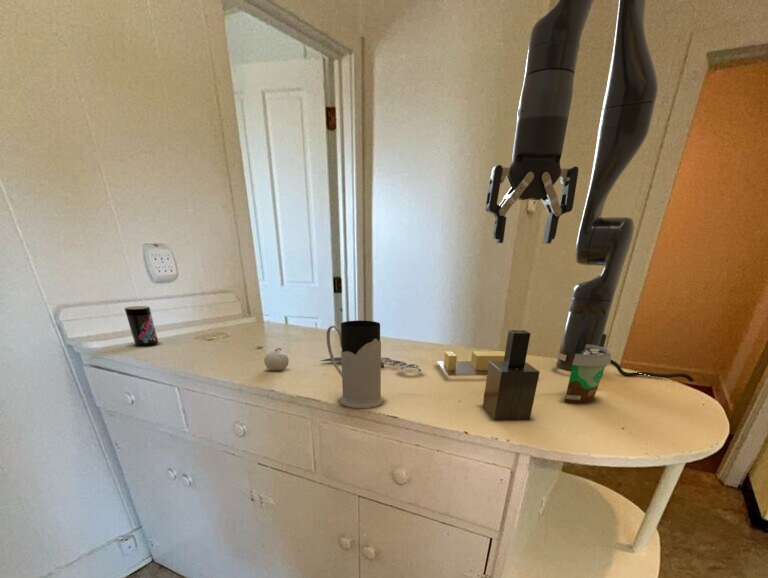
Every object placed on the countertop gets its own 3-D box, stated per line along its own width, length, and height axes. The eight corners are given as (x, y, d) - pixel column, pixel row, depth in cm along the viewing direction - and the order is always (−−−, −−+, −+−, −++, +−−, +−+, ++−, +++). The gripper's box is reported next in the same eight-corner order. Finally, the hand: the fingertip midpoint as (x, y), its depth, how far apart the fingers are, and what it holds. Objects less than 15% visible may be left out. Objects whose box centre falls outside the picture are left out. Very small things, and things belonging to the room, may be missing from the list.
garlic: (287, 366, 112) (285, 345, 109) (290, 371, 108) (288, 349, 105) (264, 367, 110) (261, 346, 107) (266, 373, 106) (263, 351, 103)
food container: (593, 409, 86) (608, 358, 81) (562, 403, 89) (574, 354, 84) (603, 394, 95) (617, 347, 90) (574, 389, 98) (586, 343, 92)
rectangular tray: (516, 365, 116) (517, 360, 115) (535, 379, 104) (536, 374, 104) (436, 365, 114) (437, 361, 114) (447, 380, 103) (447, 375, 102)
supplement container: (135, 347, 128) (124, 309, 122) (134, 343, 133) (123, 306, 127) (160, 345, 131) (150, 308, 125) (157, 341, 136) (148, 305, 130)
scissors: (318, 358, 114) (339, 349, 121) (319, 364, 114) (339, 355, 122) (414, 374, 102) (431, 363, 110) (414, 381, 103) (430, 369, 110)
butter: (508, 365, 111) (510, 351, 109) (514, 370, 107) (516, 355, 105) (470, 365, 111) (472, 351, 109) (475, 370, 106) (477, 355, 104)
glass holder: (361, 411, 83) (360, 329, 75) (315, 395, 91) (309, 320, 83) (391, 401, 89) (393, 323, 81) (345, 387, 97) (342, 315, 89)
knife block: (515, 405, 88) (524, 360, 83) (529, 419, 81) (539, 371, 76) (482, 406, 87) (489, 360, 82) (494, 420, 80) (501, 371, 75)
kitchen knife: (509, 407, 85) (523, 329, 78) (516, 414, 82) (531, 333, 74) (495, 407, 85) (507, 329, 77) (501, 414, 82) (515, 333, 74)
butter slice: (451, 365, 110) (452, 351, 108) (455, 370, 106) (457, 355, 104) (443, 365, 110) (445, 351, 108) (447, 370, 106) (448, 355, 104)
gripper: (505, 111, 61) (489, 243, 70) (599, 113, 62) (572, 243, 71) (489, 122, 68) (477, 242, 76) (575, 124, 69) (553, 242, 78)
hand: (523, 243), depth 74 cm, fingers open, 8 cm apart
